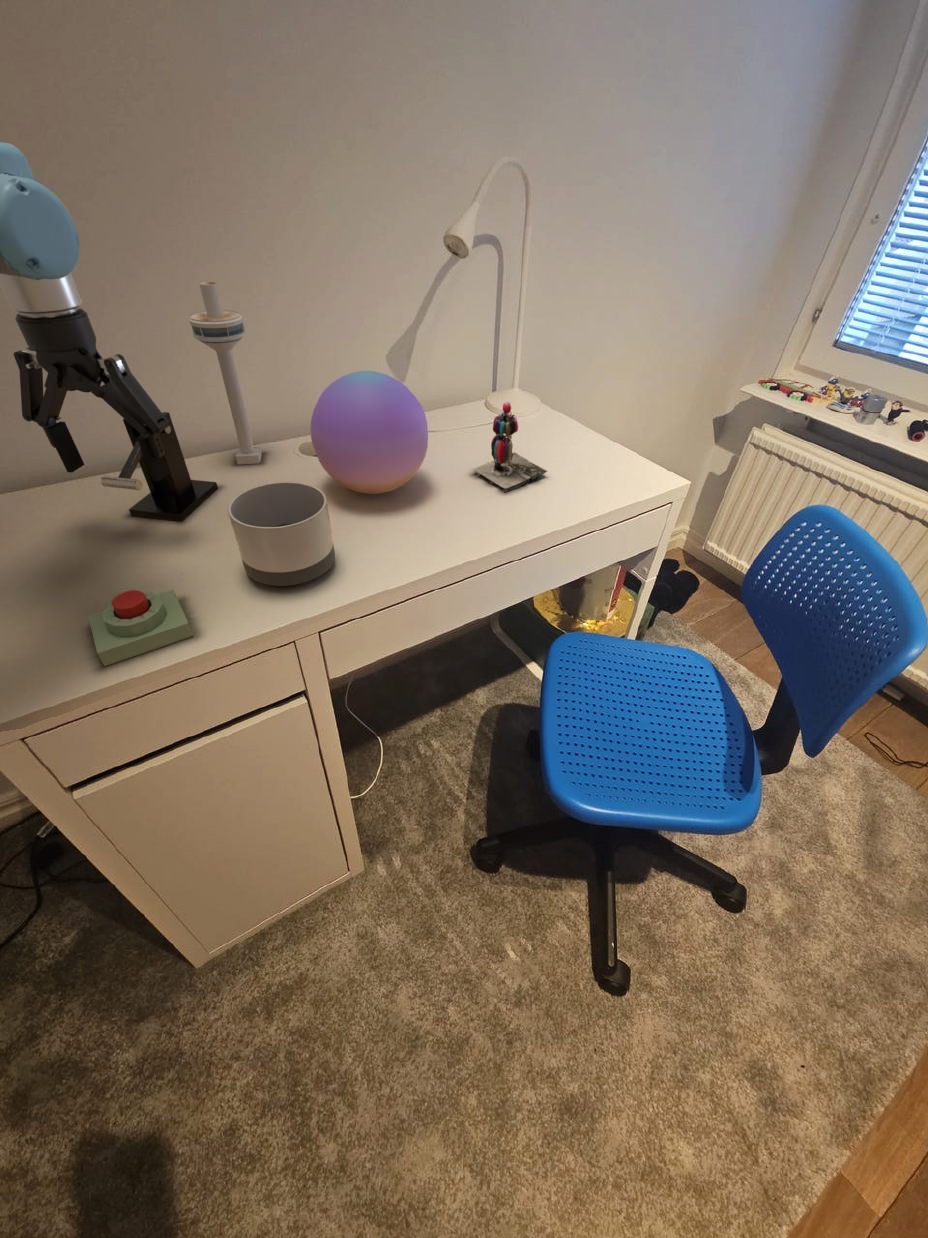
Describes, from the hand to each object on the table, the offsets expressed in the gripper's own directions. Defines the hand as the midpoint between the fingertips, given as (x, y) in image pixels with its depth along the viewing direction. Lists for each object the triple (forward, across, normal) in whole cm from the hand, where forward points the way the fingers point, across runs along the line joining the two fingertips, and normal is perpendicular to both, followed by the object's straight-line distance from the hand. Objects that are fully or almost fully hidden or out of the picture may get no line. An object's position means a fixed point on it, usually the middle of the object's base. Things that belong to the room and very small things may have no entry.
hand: (118, 473), depth 79 cm
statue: (+10, -56, -32) cm, 65 cm away
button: (+6, -14, +22) cm, 27 cm away
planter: (+10, -27, +5) cm, 29 cm away
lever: (0, 0, -6) cm, 6 cm away
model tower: (+10, -5, -28) cm, 30 cm away
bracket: (+10, 0, -10) cm, 14 cm away
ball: (+10, -32, -22) cm, 40 cm away
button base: (+10, -14, +22) cm, 28 cm away
